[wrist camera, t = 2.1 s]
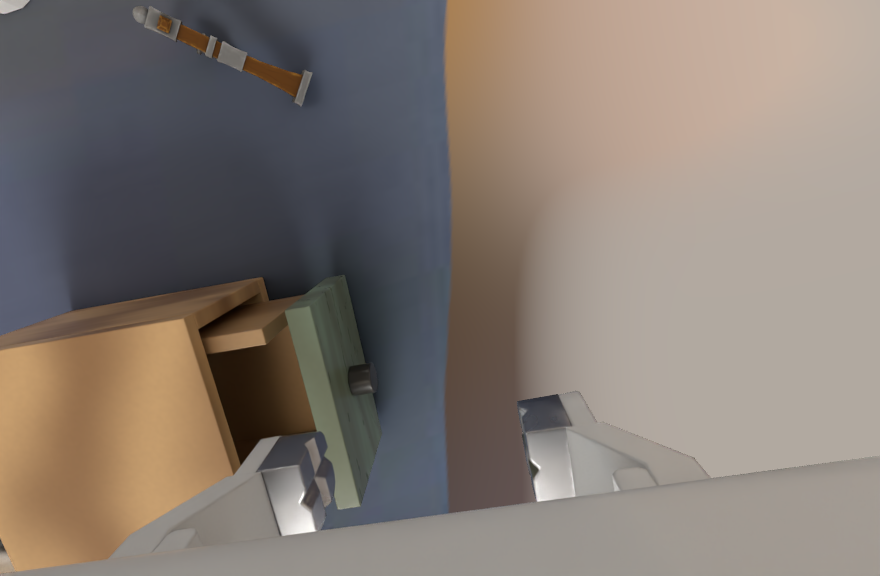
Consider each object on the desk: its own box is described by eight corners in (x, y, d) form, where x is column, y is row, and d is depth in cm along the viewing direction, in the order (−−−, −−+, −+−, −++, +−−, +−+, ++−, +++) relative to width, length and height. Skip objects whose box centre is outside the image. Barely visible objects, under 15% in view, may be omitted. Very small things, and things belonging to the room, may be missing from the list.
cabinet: (263, 276, 29) (183, 318, 20) (309, 445, 31) (255, 544, 23) (71, 310, 30) (-81, 363, 21) (131, 472, 32) (17, 576, 24)
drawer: (365, 270, 27) (335, 301, 21) (400, 430, 30) (384, 503, 23) (159, 306, 28) (69, 347, 22) (209, 459, 31) (142, 536, 24)
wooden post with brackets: (152, 2, 24) (133, -14, 21) (304, 73, 28) (313, 72, 24) (144, 37, 25) (123, 29, 21) (294, 103, 28) (301, 106, 25)
